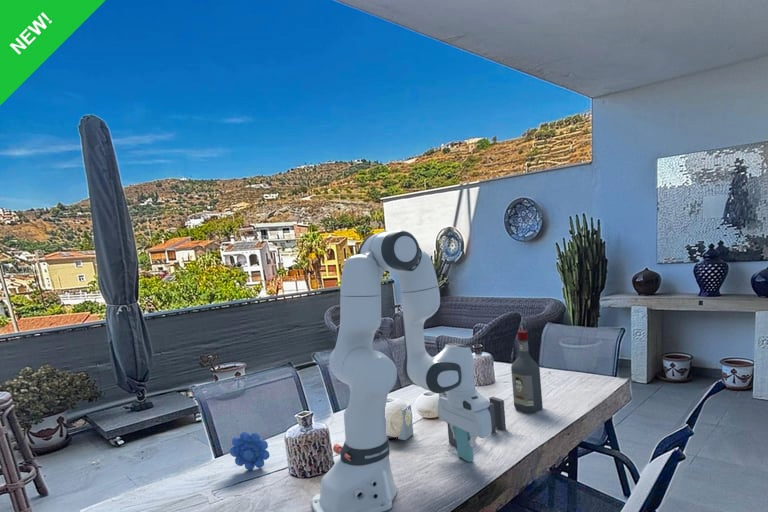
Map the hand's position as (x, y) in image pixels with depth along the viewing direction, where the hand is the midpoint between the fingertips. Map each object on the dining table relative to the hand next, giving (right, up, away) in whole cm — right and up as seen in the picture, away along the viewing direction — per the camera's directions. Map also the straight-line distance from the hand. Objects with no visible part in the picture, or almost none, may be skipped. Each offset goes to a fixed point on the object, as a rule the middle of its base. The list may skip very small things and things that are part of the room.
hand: (464, 442), depth 123 cm
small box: (-19, -7, +20) cm, 28 cm away
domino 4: (+16, -4, +21) cm, 26 cm away
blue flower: (-65, -10, +2) cm, 66 cm away
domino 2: (0, -5, 0) cm, 5 cm away
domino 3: (+12, -4, +18) cm, 22 cm away
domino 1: (-1, -5, +10) cm, 11 cm away
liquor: (+32, -3, +35) cm, 48 cm away
